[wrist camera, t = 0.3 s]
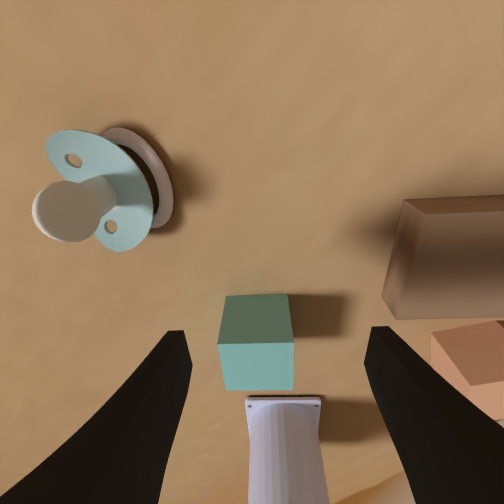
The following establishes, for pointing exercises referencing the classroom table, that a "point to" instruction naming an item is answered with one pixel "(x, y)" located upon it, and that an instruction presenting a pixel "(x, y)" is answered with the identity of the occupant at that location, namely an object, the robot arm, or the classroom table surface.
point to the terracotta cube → (473, 363)
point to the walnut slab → (447, 259)
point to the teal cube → (256, 343)
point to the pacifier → (102, 189)
